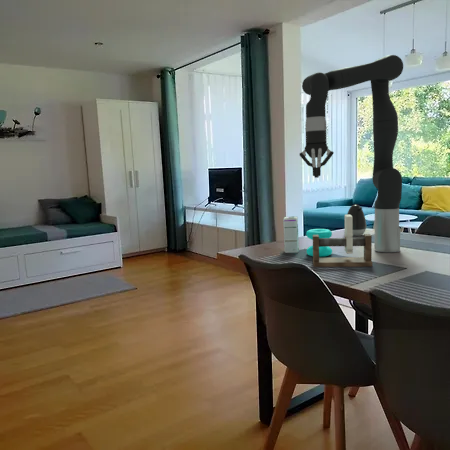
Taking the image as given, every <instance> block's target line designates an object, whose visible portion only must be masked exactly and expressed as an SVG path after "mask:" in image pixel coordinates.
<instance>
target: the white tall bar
mask: <svg viewBox="0 0 450 450" xmlns="http://www.w3.org/2000/svg"><path fill="white" fill-rule="evenodd" d="M344 238H346V246H344V251H345V253H346V254H351V255H353V254H354V251H353V250H354V248H353V247H354V246H353V238H354V236H353V223H352V216H351V215H347V214H344Z"/></svg>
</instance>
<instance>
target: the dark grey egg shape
mask: <svg viewBox="0 0 450 450" xmlns="http://www.w3.org/2000/svg"><path fill="white" fill-rule="evenodd" d="M346 215H351V216H352V223H353V237H360V236H362V235H363V236H364V234H365V233H366V229H367V220H366V217H365V213H364V211H363V207H362V206H360V205H359V204H353V205H350V207H349V209H348V211H347V213H346Z"/></svg>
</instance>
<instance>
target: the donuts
mask: <svg viewBox="0 0 450 450" xmlns="http://www.w3.org/2000/svg"><path fill="white" fill-rule="evenodd" d="M305 233H306V234H305V235H306V237H307V238H308V239H310V240H312V241H313V235H319V238H332V236H333V232H332V231H331V230H330V229H328V228H327V229H326V228H313V229H309V230H308V229H307V231H306V232H305ZM306 254H307V255H308V256H310V257H313V245H310V246H309V247H308V248H306ZM332 254H333V249H332V248H331V246H325V247H319V258H326V257H330V256H331V255H332Z"/></svg>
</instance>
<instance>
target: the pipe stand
mask: <svg viewBox="0 0 450 450" xmlns="http://www.w3.org/2000/svg"><path fill="white" fill-rule="evenodd" d="M372 239H373V237H372V234H370V233H364V234H363V237H353V247H363V256H362V257H359V256H358V257H356V256H355V257H354V256H353V257H349V256H347V257H345V256H344V257H319V247H325V246H328V247H345V246H346V238H345V237H330V238H319V235H313V240H312V246H313V256H312V265H313V267H314V268H317V267H318V268H319V267H321V268H322V267H323V268H324V267H325V268H326V267H327V268H328V267H331V268H333V267H335V268H337V267H338V268H339V267H340V268H341V267H345V268H346V267H351V268H352V267H356V268H357V267H360V268H361V267H363V268H364V267H373V263H374V262H373V261H372V259H373V258H372V255H373V254H372V246H373V245H372V243H373V242H372Z"/></svg>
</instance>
